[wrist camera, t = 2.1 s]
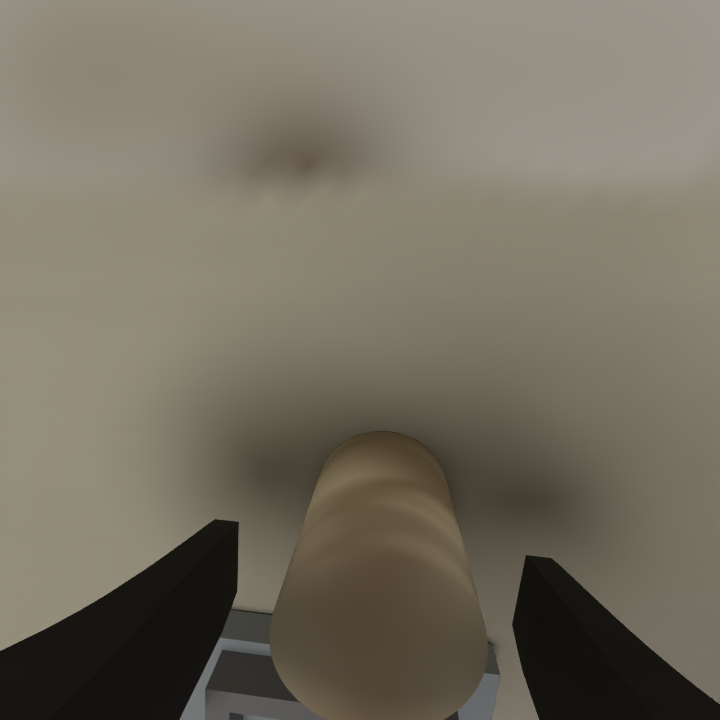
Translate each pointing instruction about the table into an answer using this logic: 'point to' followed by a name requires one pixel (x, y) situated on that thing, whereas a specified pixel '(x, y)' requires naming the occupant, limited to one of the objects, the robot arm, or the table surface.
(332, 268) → the table surface
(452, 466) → the table surface
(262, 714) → the gray compartment tray
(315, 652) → the beech pin
